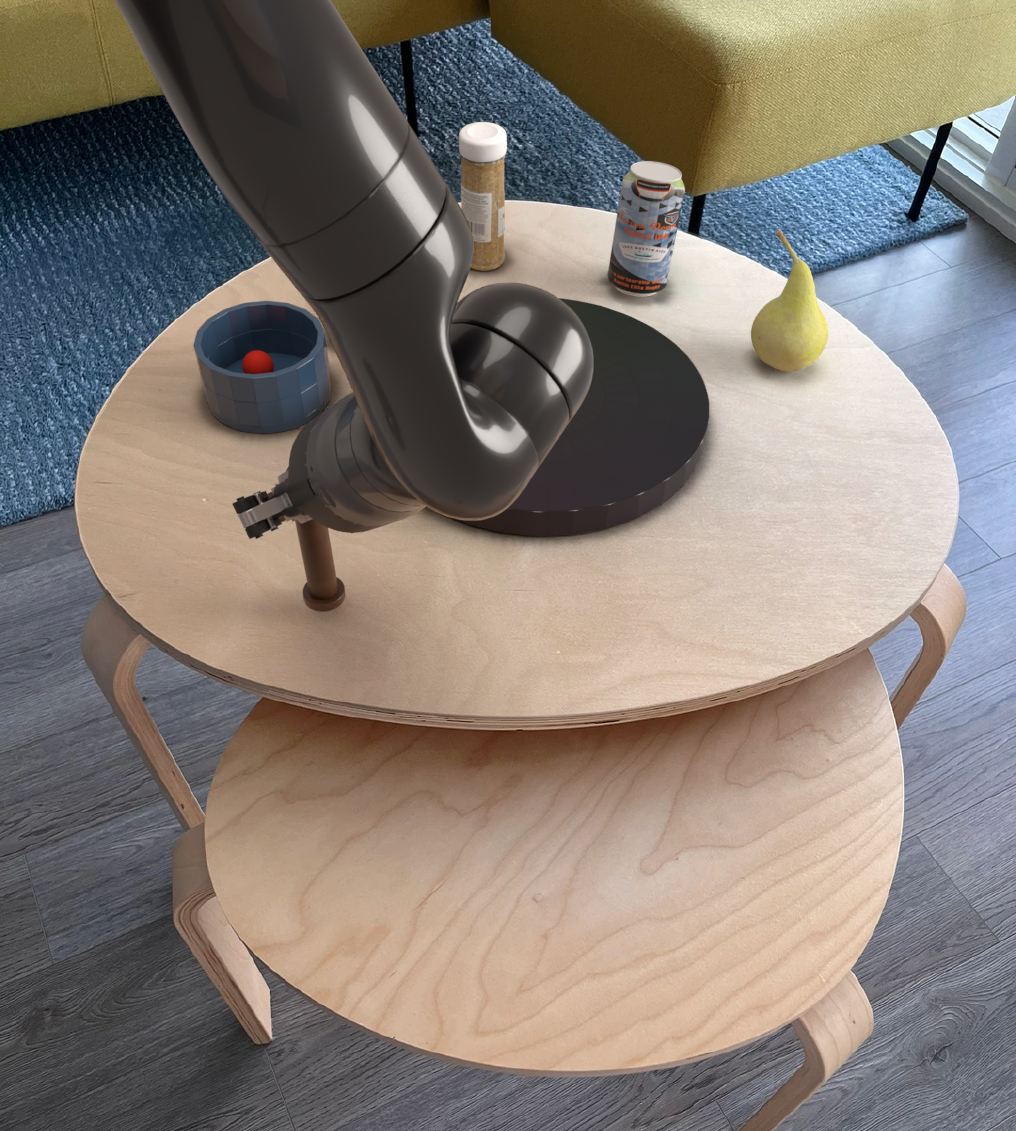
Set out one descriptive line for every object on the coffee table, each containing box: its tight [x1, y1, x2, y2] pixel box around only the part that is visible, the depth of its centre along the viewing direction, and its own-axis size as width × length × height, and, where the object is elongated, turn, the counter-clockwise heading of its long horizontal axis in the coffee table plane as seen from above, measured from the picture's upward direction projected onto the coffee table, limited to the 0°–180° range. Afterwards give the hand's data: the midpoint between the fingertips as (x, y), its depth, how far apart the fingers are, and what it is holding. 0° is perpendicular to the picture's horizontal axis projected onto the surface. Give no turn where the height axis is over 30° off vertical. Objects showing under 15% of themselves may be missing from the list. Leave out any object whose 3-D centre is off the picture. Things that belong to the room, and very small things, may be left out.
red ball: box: [242, 350, 274, 374], centre depth 102 cm, size 3×3×3 cm
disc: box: [453, 297, 710, 537], centre depth 100 cm, size 30×30×3 cm
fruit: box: [750, 229, 829, 373], centre depth 102 cm, size 7×8×12 cm
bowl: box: [193, 300, 332, 435], centre depth 100 cm, size 11×11×6 cm
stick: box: [285, 466, 347, 613], centre depth 81 cm, size 3×3×12 cm
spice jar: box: [458, 121, 508, 271], centre depth 112 cm, size 5×5×13 cm
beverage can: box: [607, 160, 686, 298], centre depth 110 cm, size 6×7×12 cm
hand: (294, 499), depth 80 cm, fingers closed on stick, 2 cm apart
